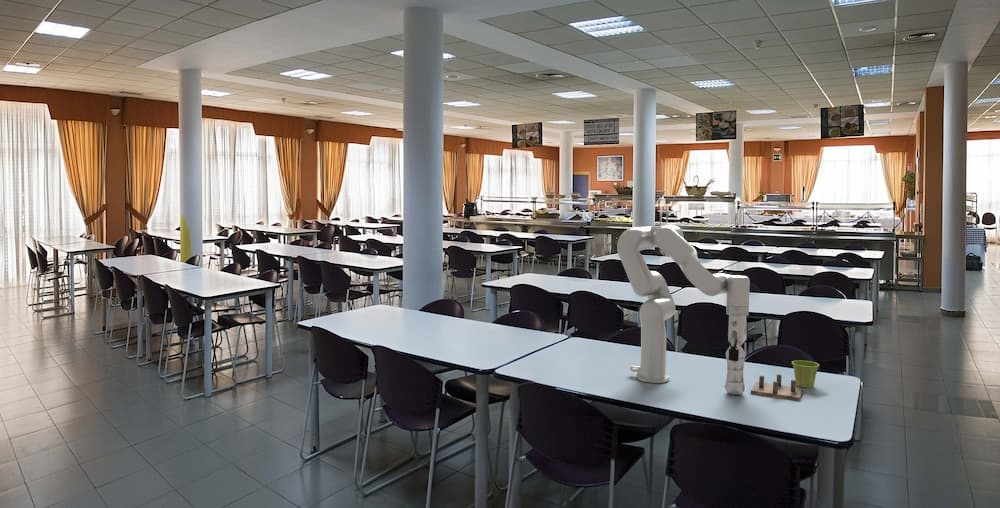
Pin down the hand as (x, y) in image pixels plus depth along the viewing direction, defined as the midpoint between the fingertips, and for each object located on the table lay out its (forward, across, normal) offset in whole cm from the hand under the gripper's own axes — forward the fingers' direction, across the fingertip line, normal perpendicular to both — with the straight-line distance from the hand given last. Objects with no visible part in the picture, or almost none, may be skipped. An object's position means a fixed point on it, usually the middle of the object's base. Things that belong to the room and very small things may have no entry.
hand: (735, 357), depth 226 cm
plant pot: (+14, +24, -21) cm, 35 cm away
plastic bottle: (+14, 0, 0) cm, 14 cm away
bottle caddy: (+13, +10, -13) cm, 21 cm away
